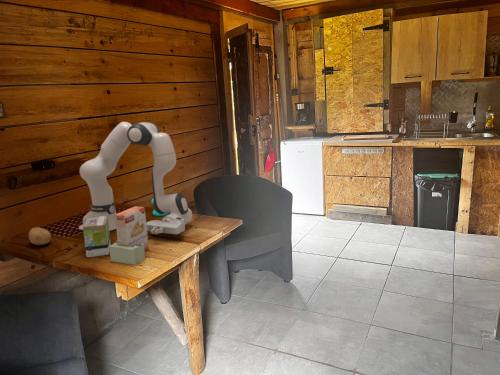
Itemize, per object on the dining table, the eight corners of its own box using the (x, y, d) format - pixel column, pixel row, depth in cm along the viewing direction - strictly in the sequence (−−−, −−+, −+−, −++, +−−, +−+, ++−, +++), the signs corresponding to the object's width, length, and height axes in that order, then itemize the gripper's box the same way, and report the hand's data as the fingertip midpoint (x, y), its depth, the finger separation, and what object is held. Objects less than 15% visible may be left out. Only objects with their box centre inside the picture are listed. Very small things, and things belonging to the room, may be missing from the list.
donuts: (171, 196, 237) (161, 201, 228) (172, 212, 239) (163, 217, 230) (158, 195, 241) (147, 199, 232) (159, 211, 243) (149, 215, 234)
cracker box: (130, 261, 170) (124, 215, 165) (119, 259, 172) (113, 214, 167) (149, 249, 182) (145, 206, 178) (139, 247, 185) (134, 205, 180)
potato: (36, 250, 187) (33, 234, 185) (25, 244, 196) (23, 229, 194) (57, 244, 194) (54, 229, 192) (46, 238, 203) (43, 223, 201)
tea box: (109, 254, 178) (105, 224, 175) (86, 258, 175) (81, 227, 172) (111, 243, 192) (107, 214, 189) (89, 246, 189) (85, 217, 186)
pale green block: (110, 261, 171) (108, 244, 169) (121, 254, 177) (119, 238, 175) (135, 265, 166) (133, 247, 164) (145, 258, 172) (143, 242, 170)
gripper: (153, 215, 203) (135, 224, 190) (186, 219, 194) (170, 228, 182) (154, 227, 204) (137, 236, 192) (187, 231, 196) (171, 240, 184)
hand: (153, 232), depth 187 cm, fingers closed
